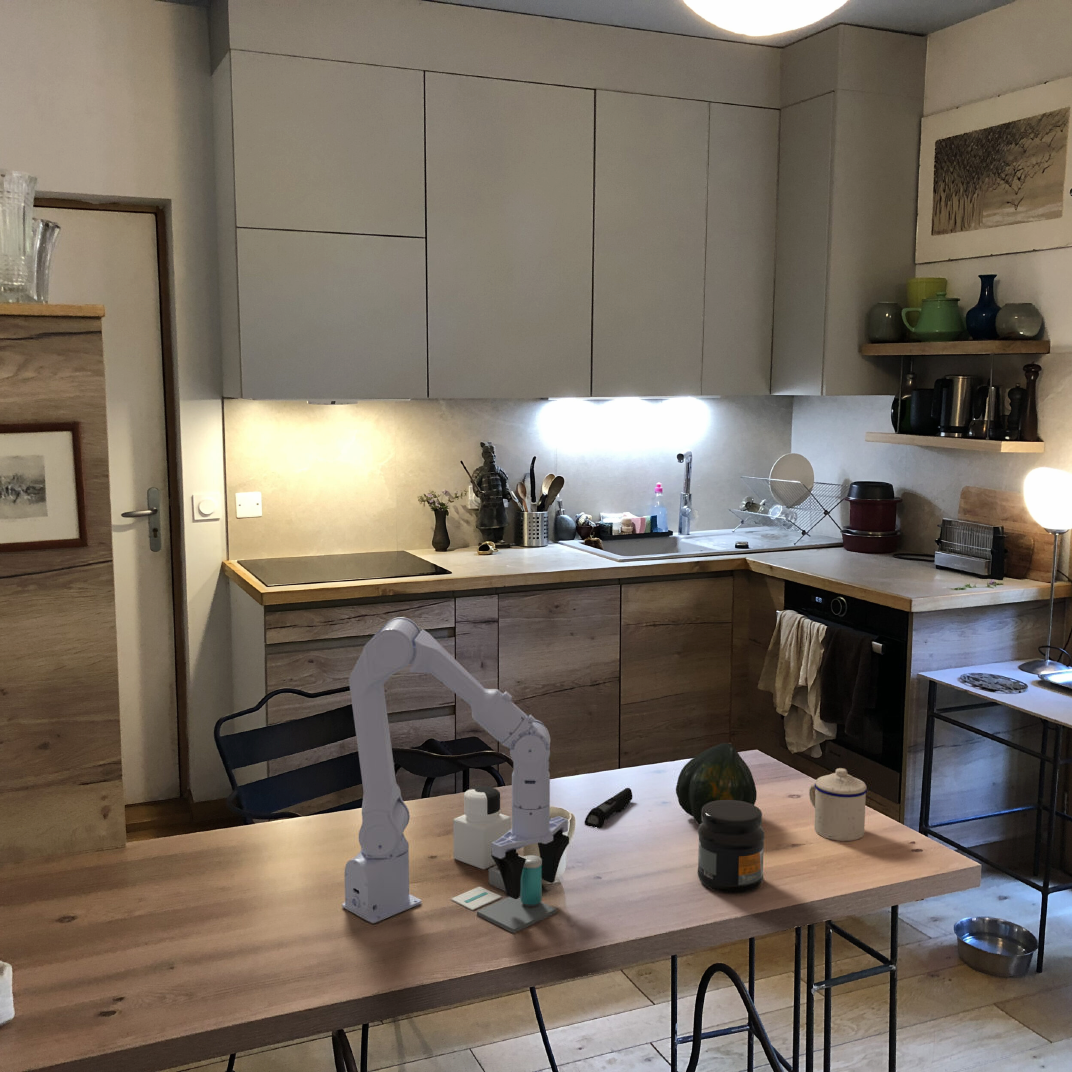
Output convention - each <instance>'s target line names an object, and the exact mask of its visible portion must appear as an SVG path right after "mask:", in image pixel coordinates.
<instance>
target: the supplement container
mask: <svg viewBox="0 0 1072 1072" xmlns="http://www.w3.org/2000/svg"><path fill="white" fill-rule="evenodd" d="M762 825H763V812H762V809H760V808H759V807H758V806H756V805H752V804H750V803H747V802H743V801H737V800H717V801H712V802H709V803H707V804H705V805H704V806H703V807H702V823H701V824H700V825H699V826H698V828H697V834H698V852H697V853H698V855H697V856H698V857H697V859H698V861H697V876H698V879H699V881H700V882H701V883H702V884H703V885H704V886H705V887H707V888H709V889H711V890H713V891H715V892H720V893H723V894H730V895H731V894H734V895H735V894H737V895H738V893H739V894H747V893H750V892H752V891H755V890H756V889H758V888H759V887H760V886H761V885H762V884H763V880H764V851H765V848H764V846H765V843H764V842H765V838H766V833H765V831H764V828H763V827H762Z"/></svg>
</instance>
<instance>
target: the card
mask: <svg viewBox="0 0 1072 1072" xmlns="http://www.w3.org/2000/svg"><path fill="white" fill-rule="evenodd" d="M499 899H502V896H501V895H499V894H497V893H495V892H492V891H490V890H489V889H486V888H484V887H482V886H477V887H475V888H472V889H470V890H468V891H465V892H463V893H461V894H458V895H456V896H454V897H452V898H450V900H451V902H454V903H457V904H458V905H460V906H463V907H465V908H466V909H469V910H471V911H475V910H477V909H480V908H482V907H483V906H486V905H488V904H490V903H491V904H492V903H493V902H495V901H497V900H499Z"/></svg>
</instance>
